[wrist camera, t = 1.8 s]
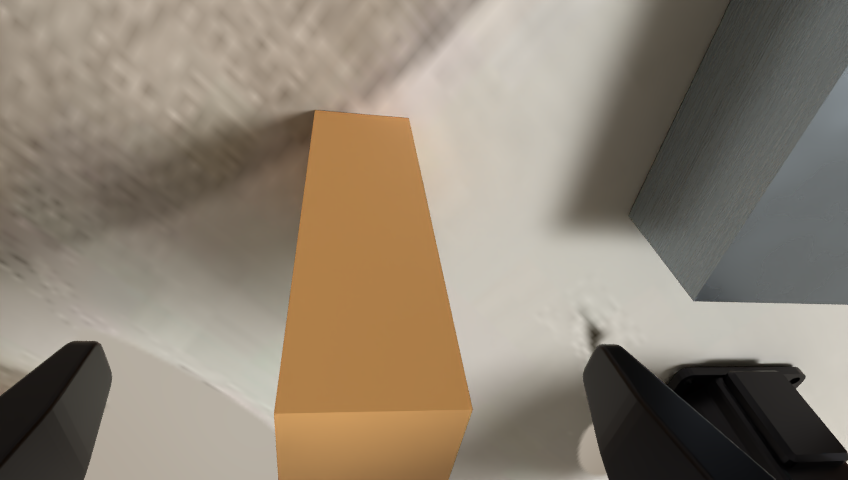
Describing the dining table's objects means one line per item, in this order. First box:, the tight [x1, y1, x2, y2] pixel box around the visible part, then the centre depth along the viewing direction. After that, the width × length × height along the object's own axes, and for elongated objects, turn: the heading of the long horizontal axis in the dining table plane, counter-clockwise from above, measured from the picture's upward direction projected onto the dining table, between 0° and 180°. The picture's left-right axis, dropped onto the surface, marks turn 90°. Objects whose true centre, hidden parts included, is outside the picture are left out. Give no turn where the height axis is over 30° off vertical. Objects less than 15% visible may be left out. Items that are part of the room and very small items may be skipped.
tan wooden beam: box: [274, 110, 473, 480], centre depth 11 cm, size 4×2×9 cm
